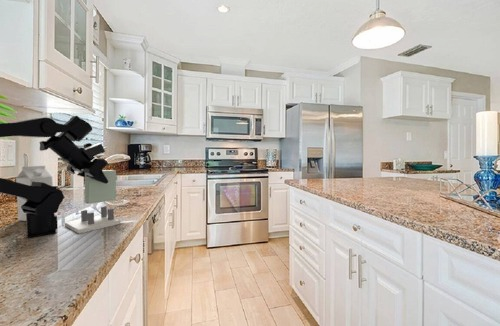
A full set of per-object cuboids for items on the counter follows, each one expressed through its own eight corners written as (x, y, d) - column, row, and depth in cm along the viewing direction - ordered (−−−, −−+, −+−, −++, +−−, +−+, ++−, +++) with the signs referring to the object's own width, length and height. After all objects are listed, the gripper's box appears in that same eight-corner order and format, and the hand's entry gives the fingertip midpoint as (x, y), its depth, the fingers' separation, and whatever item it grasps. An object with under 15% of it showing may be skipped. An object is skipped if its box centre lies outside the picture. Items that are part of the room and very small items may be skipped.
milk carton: (18, 220, 86) (15, 166, 85) (40, 215, 93) (38, 165, 91) (32, 222, 84) (29, 167, 83) (54, 216, 90) (51, 165, 89)
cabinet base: (78, 233, 73) (78, 218, 72) (65, 225, 80) (64, 211, 80) (120, 223, 82) (119, 210, 82) (104, 217, 90) (104, 204, 89)
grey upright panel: (88, 203, 83) (88, 171, 82) (85, 202, 84) (84, 171, 84) (117, 199, 91) (117, 170, 90) (112, 199, 92) (112, 169, 92)
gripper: (101, 133, 78) (134, 167, 87) (76, 135, 89) (108, 165, 98) (72, 158, 72) (111, 191, 81) (49, 157, 82) (86, 186, 92)
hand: (104, 182), depth 88 cm, fingers closed on grey upright panel, 3 cm apart
